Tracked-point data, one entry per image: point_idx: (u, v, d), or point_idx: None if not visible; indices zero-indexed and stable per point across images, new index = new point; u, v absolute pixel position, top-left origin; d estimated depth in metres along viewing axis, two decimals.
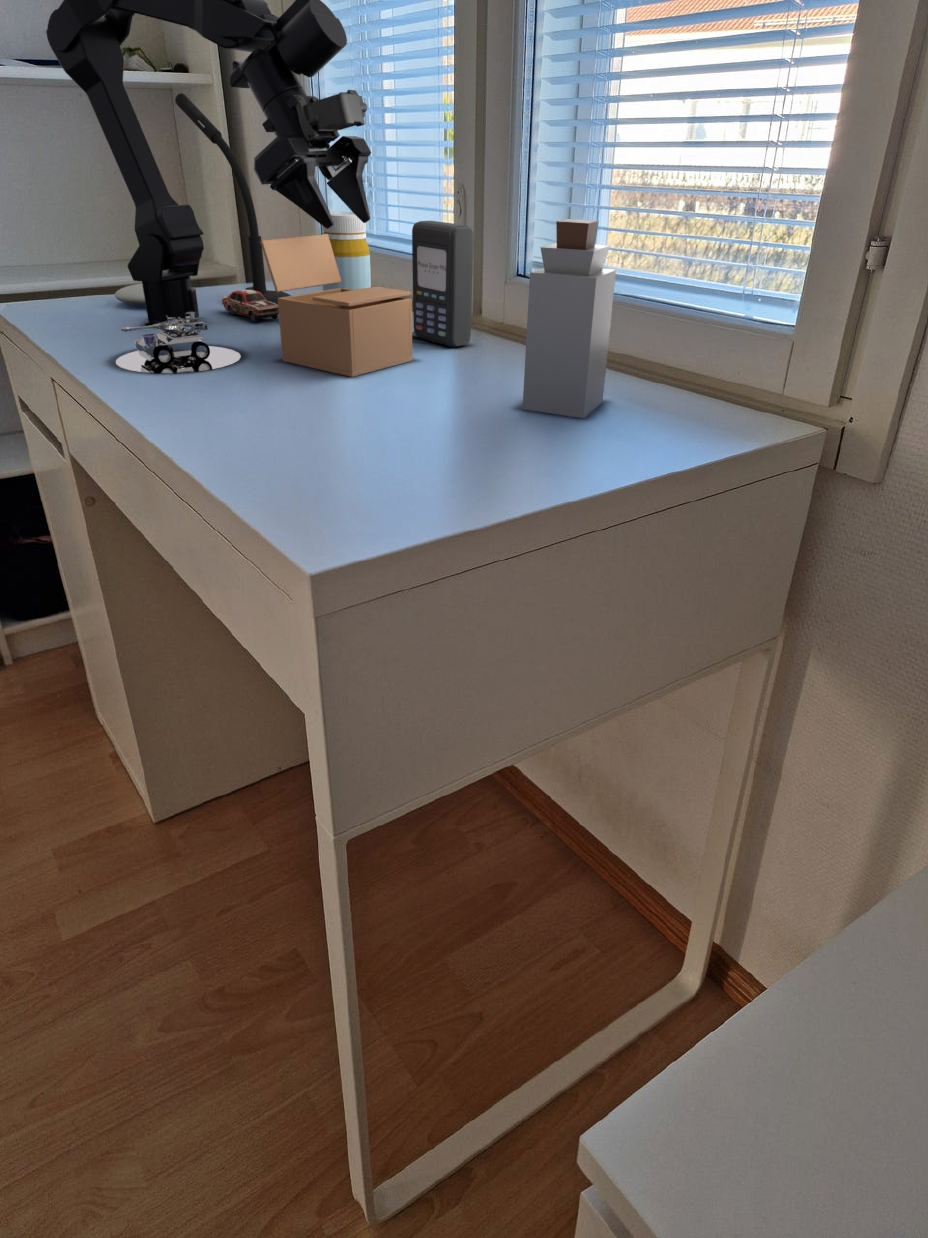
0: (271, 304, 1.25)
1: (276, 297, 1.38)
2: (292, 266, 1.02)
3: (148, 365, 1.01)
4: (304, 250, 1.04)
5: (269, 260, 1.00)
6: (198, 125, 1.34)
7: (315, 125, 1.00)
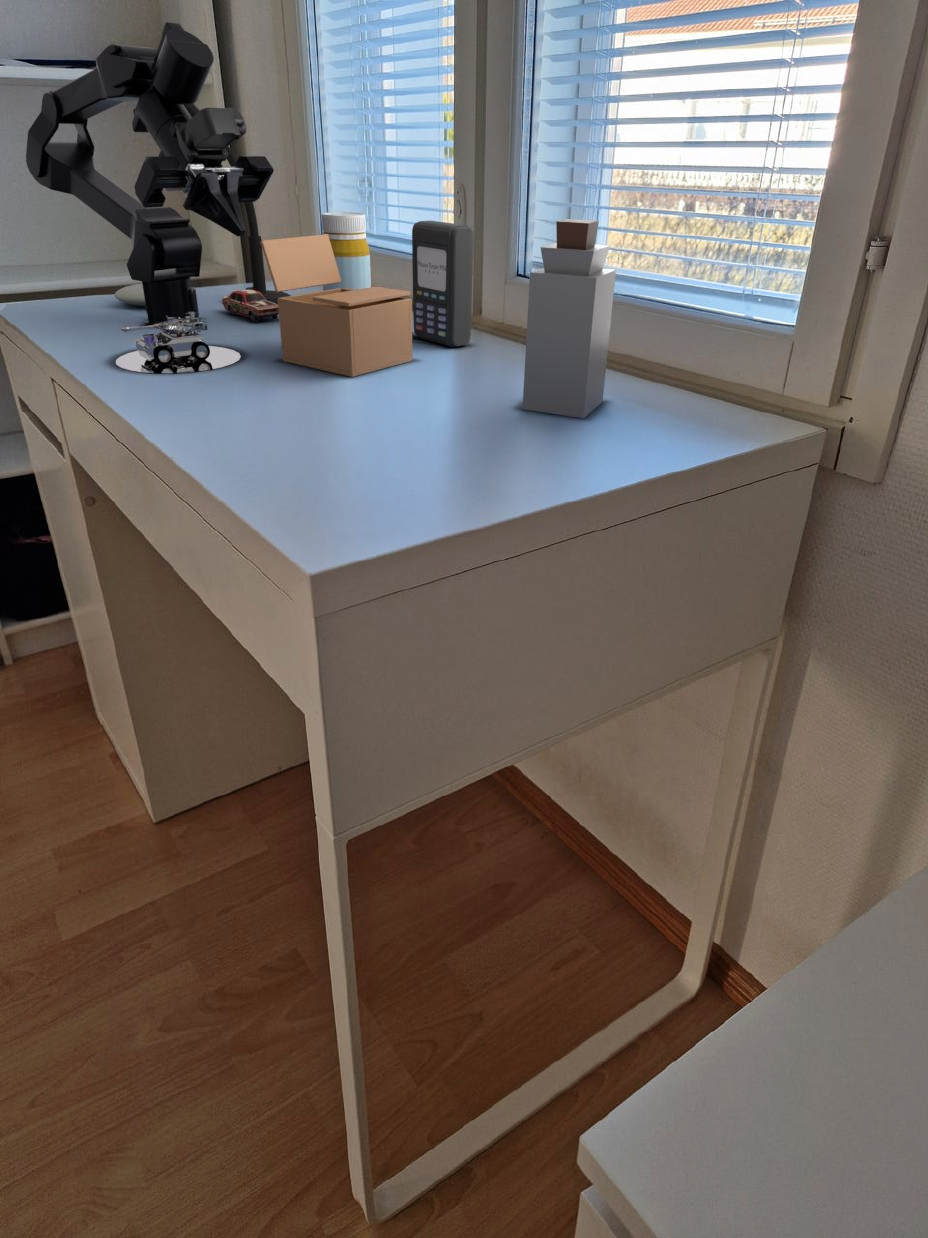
0: (271, 304, 1.25)
1: (276, 297, 1.38)
2: (292, 266, 1.02)
3: (148, 365, 1.01)
4: (304, 250, 1.04)
5: (269, 260, 1.00)
6: None
7: (192, 145, 1.04)
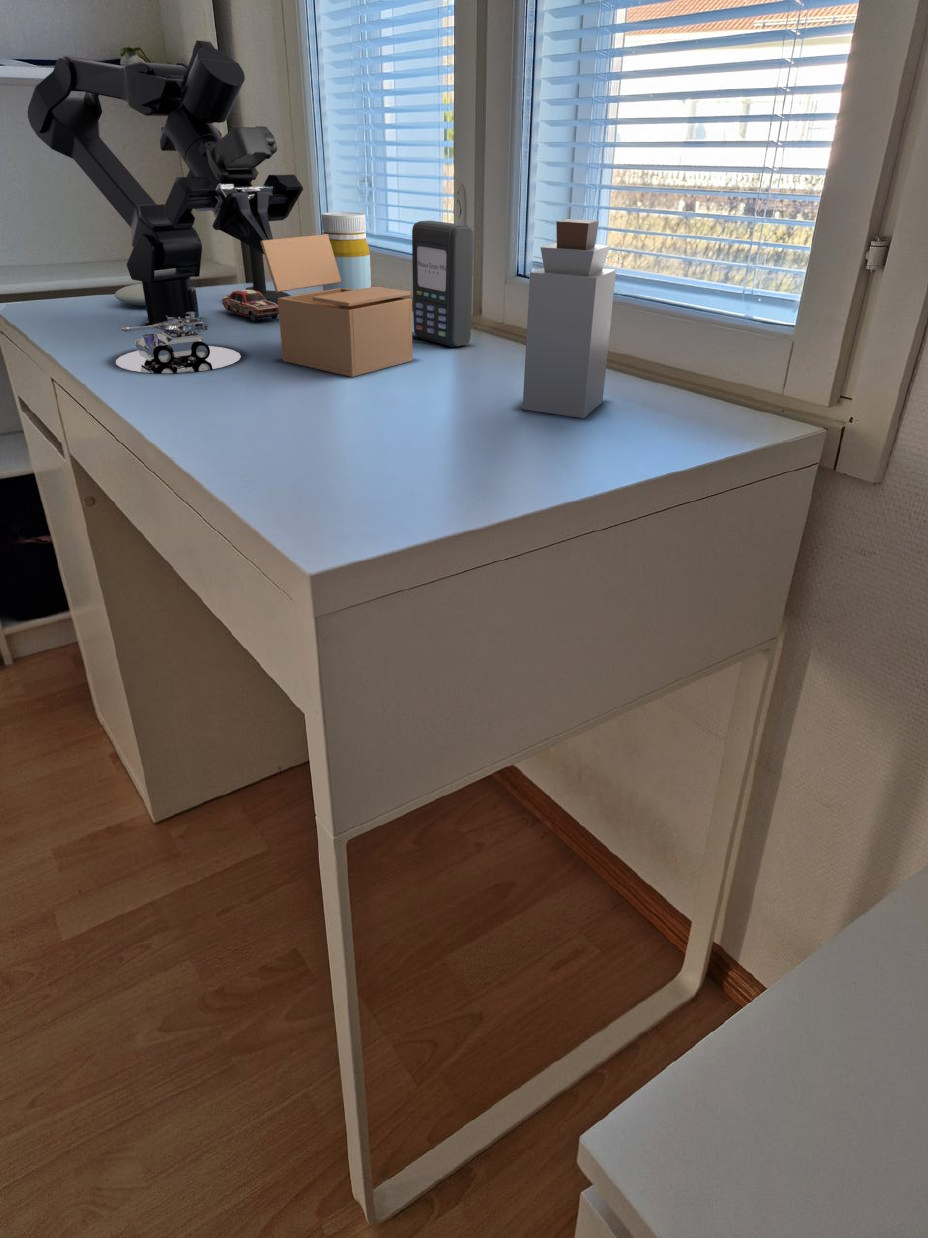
0: (271, 304, 1.25)
1: (276, 297, 1.38)
2: (292, 266, 1.02)
3: (148, 365, 1.01)
4: (304, 250, 1.04)
5: (269, 260, 1.00)
6: None
7: (223, 164, 1.02)
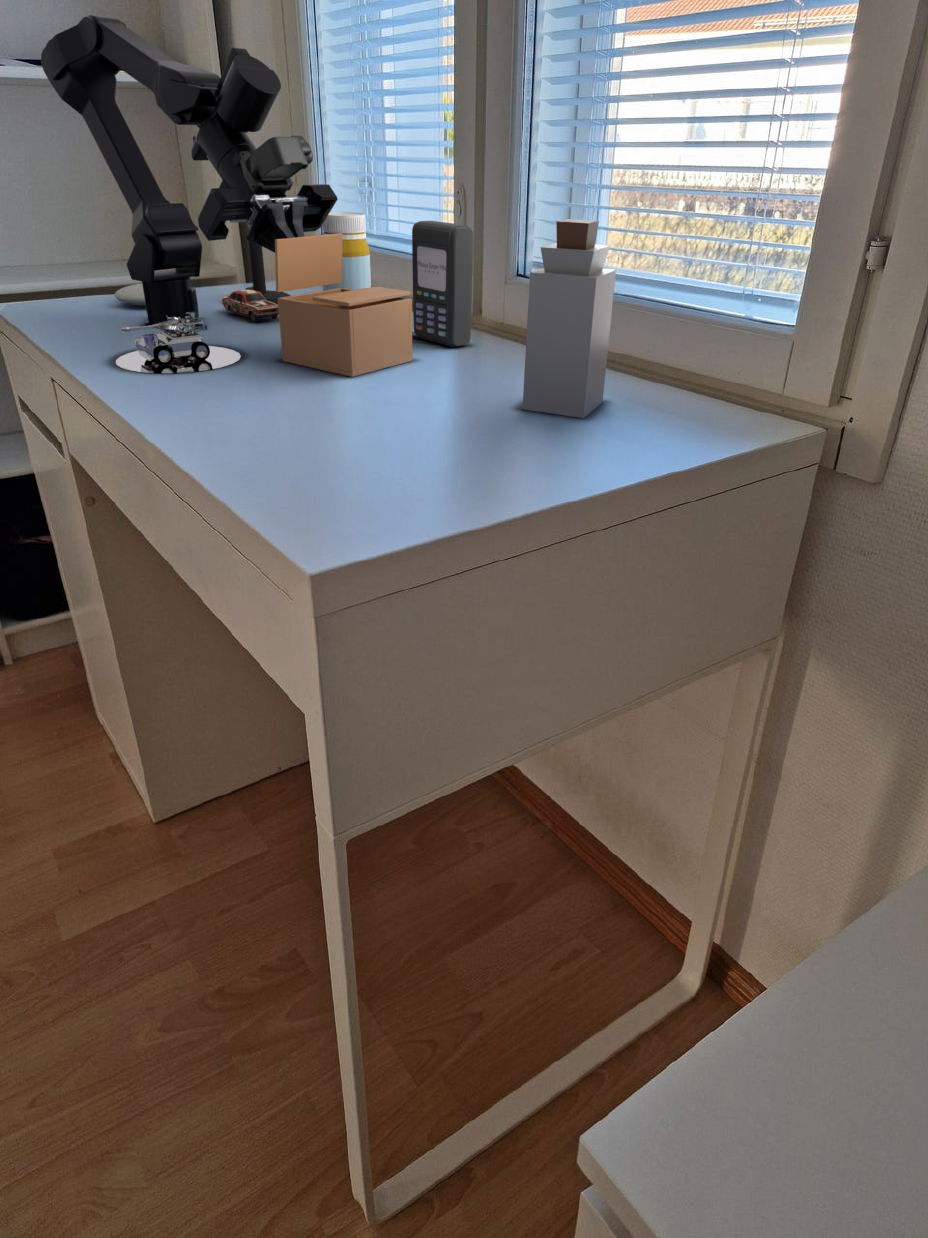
0: (271, 304, 1.25)
1: (276, 297, 1.38)
2: (299, 266, 1.02)
3: (148, 365, 1.01)
4: (315, 250, 1.03)
5: (278, 260, 0.99)
6: (198, 125, 1.34)
7: (258, 175, 1.00)
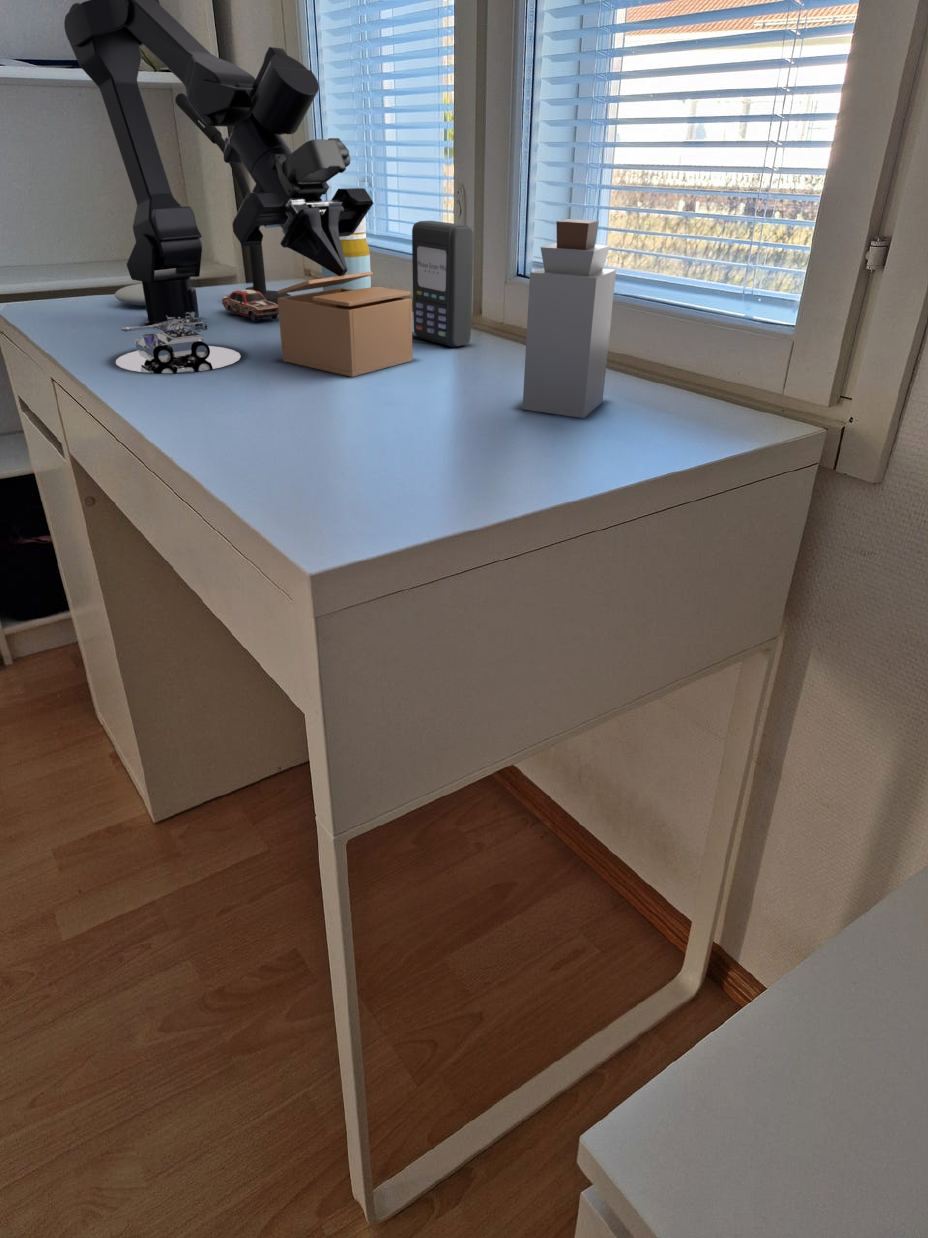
0: (271, 304, 1.25)
1: (276, 297, 1.38)
2: (312, 286, 1.01)
3: (148, 365, 1.01)
4: (337, 281, 1.02)
5: None
6: (198, 125, 1.34)
7: (294, 179, 0.96)
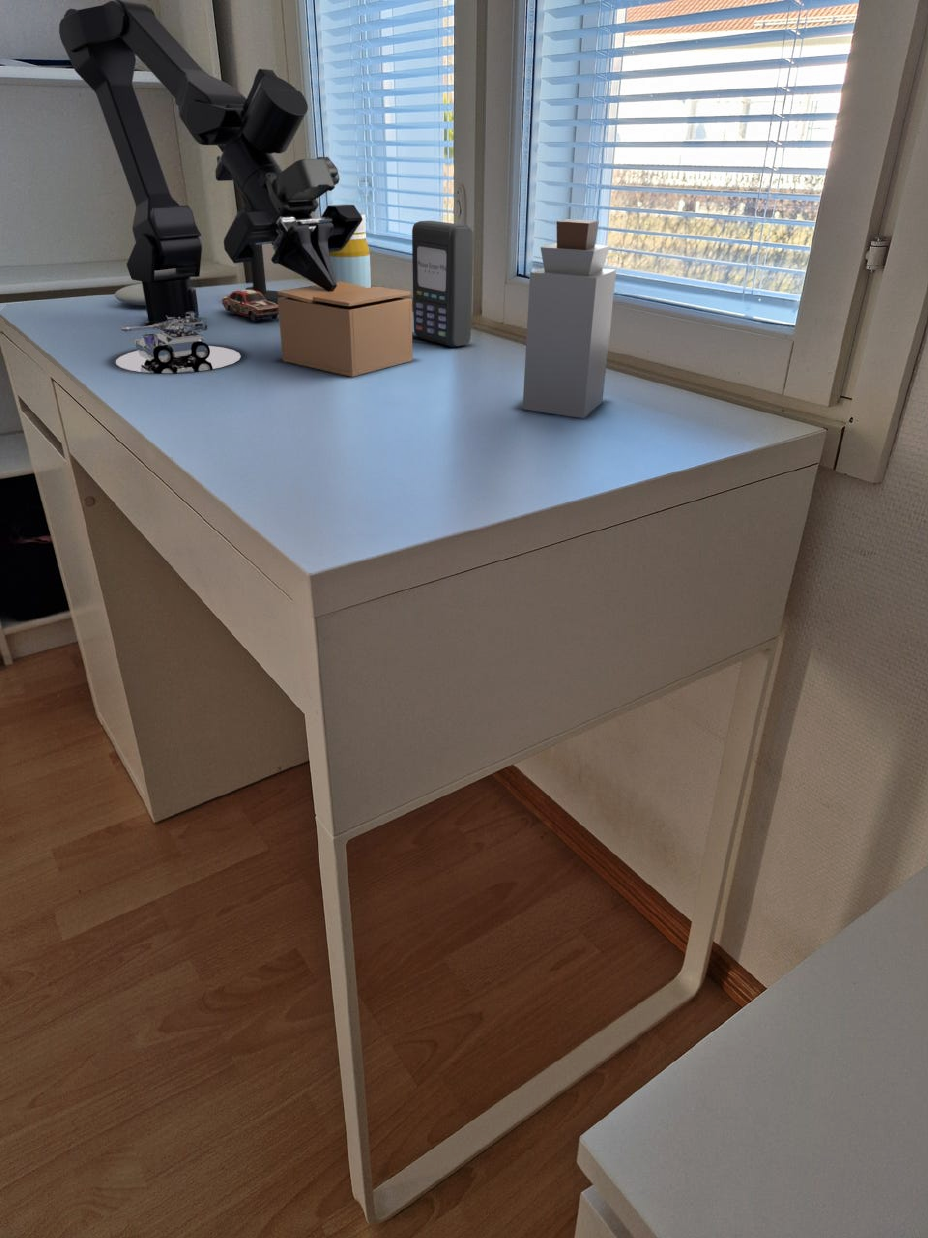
0: (271, 304, 1.25)
1: (276, 297, 1.38)
2: None
3: (148, 365, 1.01)
4: None
5: None
6: None
7: (284, 197, 0.98)
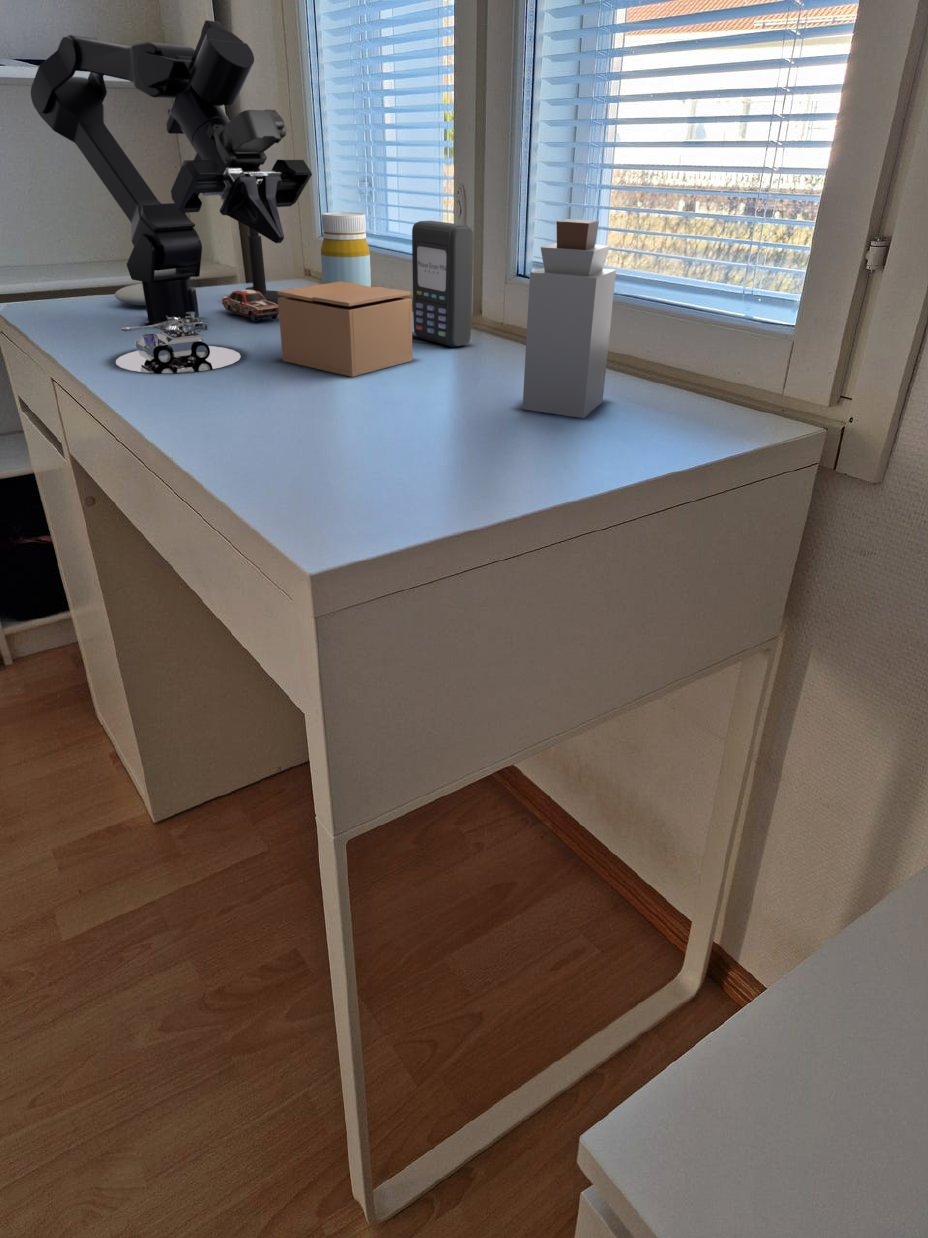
0: (271, 304, 1.25)
1: (276, 297, 1.38)
2: None
3: (148, 365, 1.01)
4: None
5: None
6: None
7: (231, 148, 1.00)
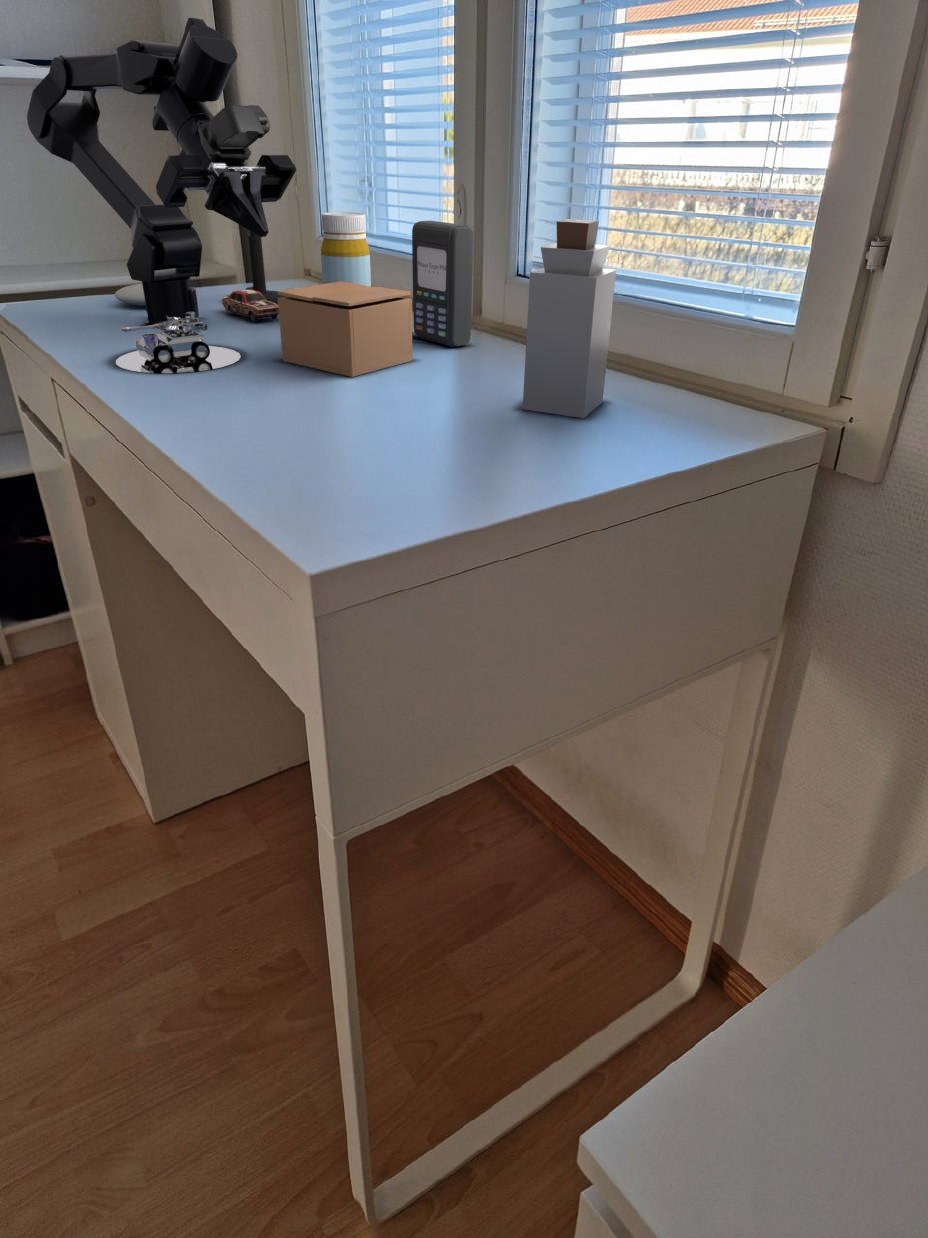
0: (271, 304, 1.25)
1: (276, 297, 1.38)
2: None
3: (148, 365, 1.01)
4: None
5: None
6: None
7: (215, 143, 1.02)
